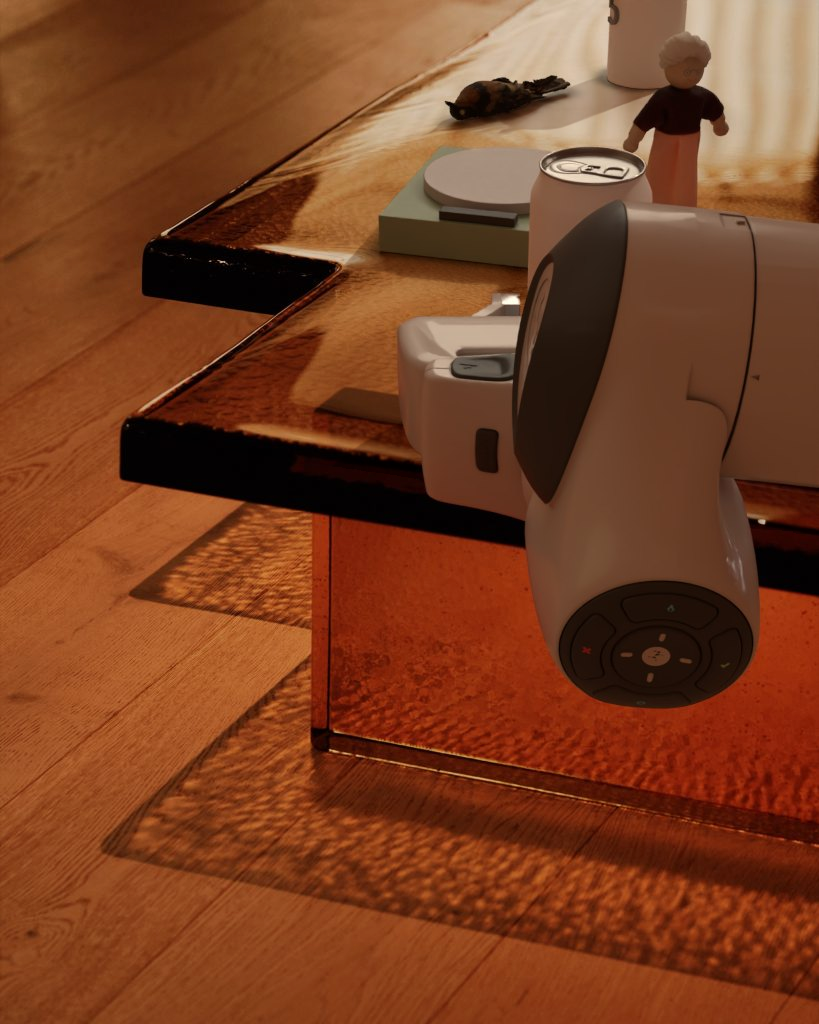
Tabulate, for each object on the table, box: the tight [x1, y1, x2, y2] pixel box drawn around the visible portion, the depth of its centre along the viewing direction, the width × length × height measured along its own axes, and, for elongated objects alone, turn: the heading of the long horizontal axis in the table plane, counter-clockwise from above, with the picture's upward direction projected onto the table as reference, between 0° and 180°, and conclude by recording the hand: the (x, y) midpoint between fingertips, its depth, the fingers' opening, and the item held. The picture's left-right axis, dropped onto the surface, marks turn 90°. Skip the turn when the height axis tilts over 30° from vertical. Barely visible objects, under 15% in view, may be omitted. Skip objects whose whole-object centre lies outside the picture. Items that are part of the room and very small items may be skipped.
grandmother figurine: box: [622, 30, 730, 208], centre depth 106 cm, size 8×4×13 cm, turn 123°
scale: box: [377, 145, 552, 269], centre depth 108 cm, size 13×14×3 cm
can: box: [527, 145, 652, 291], centre depth 87 cm, size 6×6×12 cm
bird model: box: [444, 74, 571, 121], centre depth 129 cm, size 3×14×3 cm, turn 125°
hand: (597, 305), depth 82 cm, fingers open, 8 cm apart
